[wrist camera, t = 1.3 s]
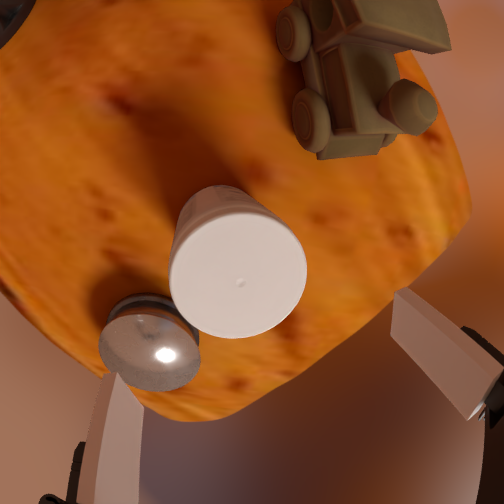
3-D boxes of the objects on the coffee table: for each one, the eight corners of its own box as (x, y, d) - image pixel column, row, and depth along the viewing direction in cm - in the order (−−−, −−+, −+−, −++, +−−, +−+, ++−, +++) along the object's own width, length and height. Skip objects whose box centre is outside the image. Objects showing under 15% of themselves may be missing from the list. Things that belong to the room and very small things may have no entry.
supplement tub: (204, 277, 33) (212, 361, 19) (162, 210, 29) (134, 261, 15) (274, 239, 33) (327, 301, 19) (239, 167, 29) (275, 181, 15)
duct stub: (92, 305, 31) (80, 326, 26) (180, 281, 32) (178, 302, 28) (132, 373, 36) (128, 396, 31) (210, 357, 37) (213, 381, 33)
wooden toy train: (264, 10, 22) (317, -70, 7) (346, 16, 24) (427, -31, 8) (293, 160, 30) (382, 175, 15) (373, 152, 31) (476, 167, 16)
